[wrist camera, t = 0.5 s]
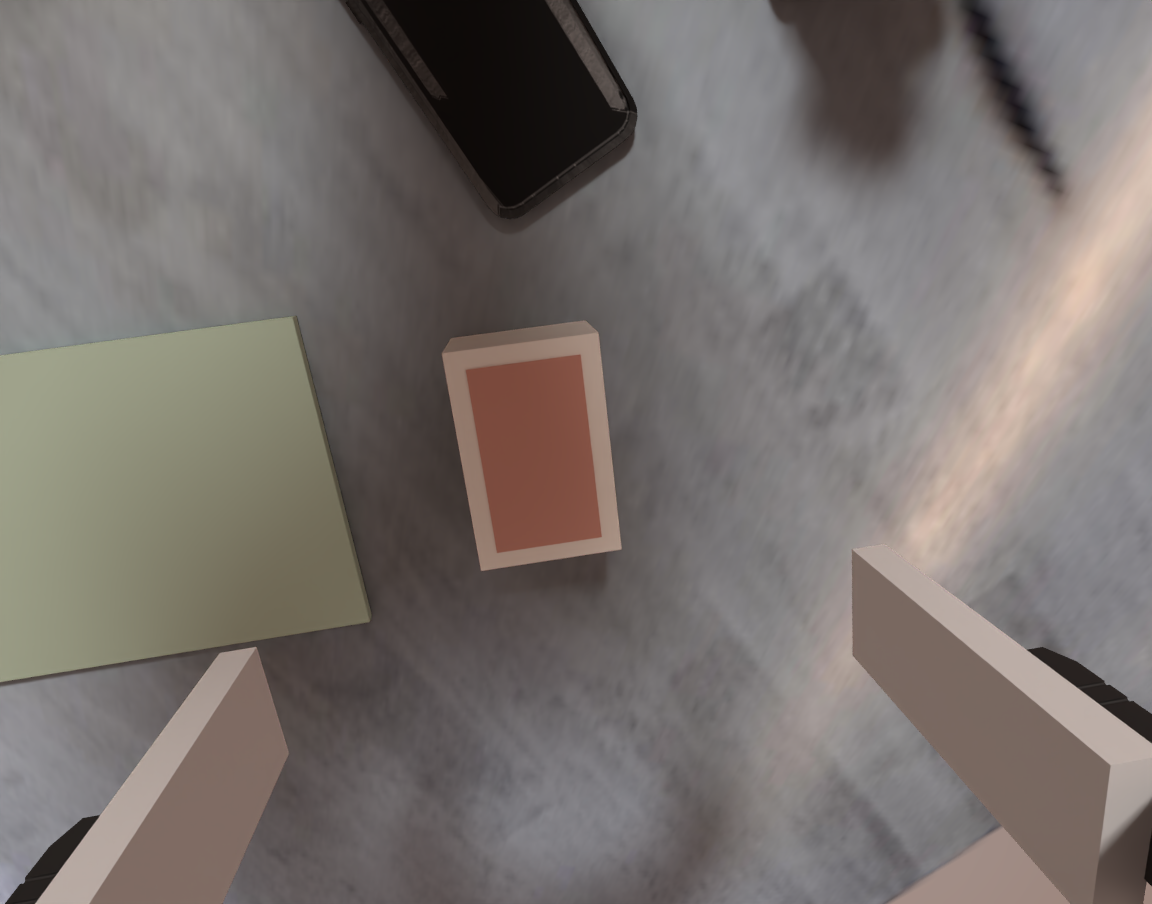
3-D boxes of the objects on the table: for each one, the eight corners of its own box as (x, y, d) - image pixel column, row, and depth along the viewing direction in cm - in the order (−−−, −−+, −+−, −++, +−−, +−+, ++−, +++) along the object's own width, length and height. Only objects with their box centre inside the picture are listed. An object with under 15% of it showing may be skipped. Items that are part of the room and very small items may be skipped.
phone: (432, -251, 24) (647, 123, 29) (435, -231, 25) (642, 127, 30) (266, -114, 25) (501, 230, 30) (275, -99, 26) (501, 231, 31)
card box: (451, 337, 32) (441, 353, 27) (584, 319, 32) (598, 332, 27) (484, 526, 35) (481, 571, 30) (606, 508, 35) (621, 549, 30)
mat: (-209, 383, 29) (-223, 386, 29) (296, 315, 30) (292, 317, 30) (-57, 685, 34) (-66, 692, 34) (372, 616, 35) (369, 622, 35)
